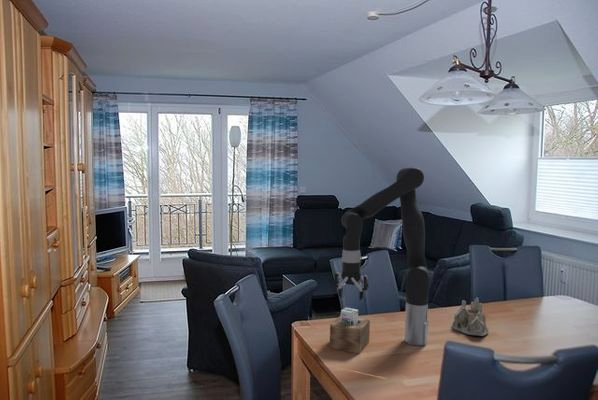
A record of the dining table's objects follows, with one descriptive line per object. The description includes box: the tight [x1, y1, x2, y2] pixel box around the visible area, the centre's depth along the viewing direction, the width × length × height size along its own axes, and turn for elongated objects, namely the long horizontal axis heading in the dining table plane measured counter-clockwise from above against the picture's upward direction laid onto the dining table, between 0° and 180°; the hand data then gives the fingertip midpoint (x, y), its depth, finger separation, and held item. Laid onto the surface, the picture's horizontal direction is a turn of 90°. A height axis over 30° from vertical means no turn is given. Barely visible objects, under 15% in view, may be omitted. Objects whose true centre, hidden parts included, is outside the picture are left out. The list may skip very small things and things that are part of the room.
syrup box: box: [340, 307, 359, 326], centre depth 189 cm, size 6×6×14 cm
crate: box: [329, 315, 371, 355], centre depth 189 cm, size 13×13×10 cm
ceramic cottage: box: [451, 297, 489, 337], centre depth 208 cm, size 16×16×15 cm
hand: (351, 298), depth 188 cm, fingers open, 8 cm apart
